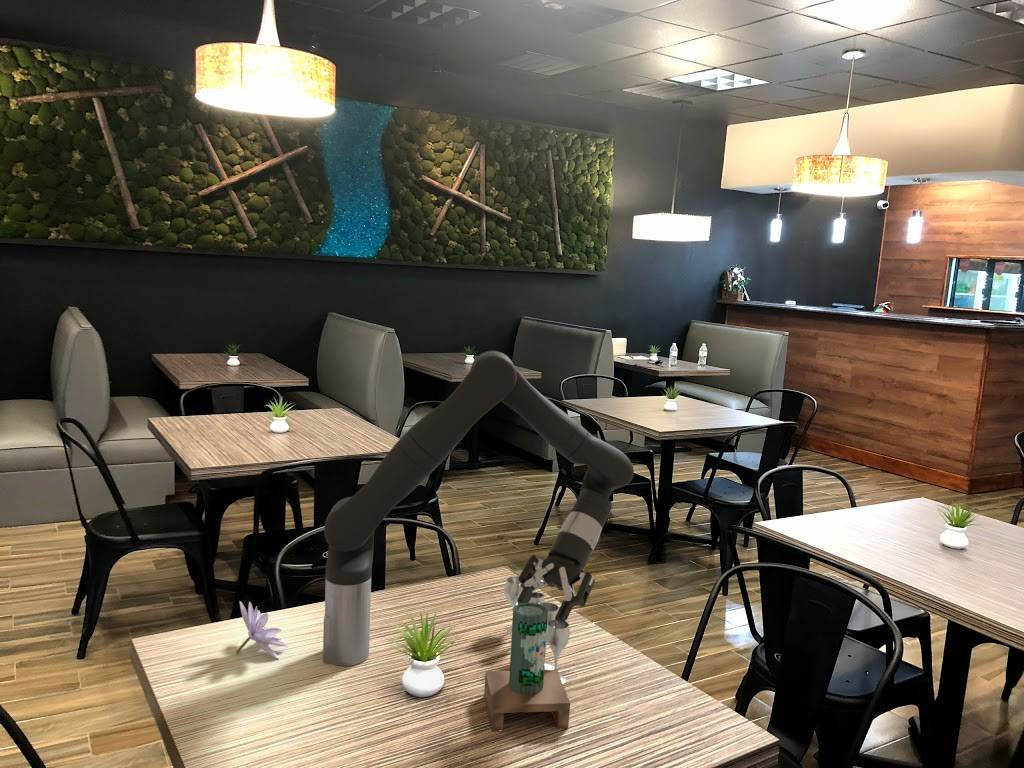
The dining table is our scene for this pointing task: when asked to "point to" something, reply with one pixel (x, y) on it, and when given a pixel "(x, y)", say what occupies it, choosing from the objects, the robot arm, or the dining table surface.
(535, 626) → the can
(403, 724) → the dining table surface
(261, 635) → the water lily
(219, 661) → the dining table surface
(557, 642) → the goblet set
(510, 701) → the walnut shelf
